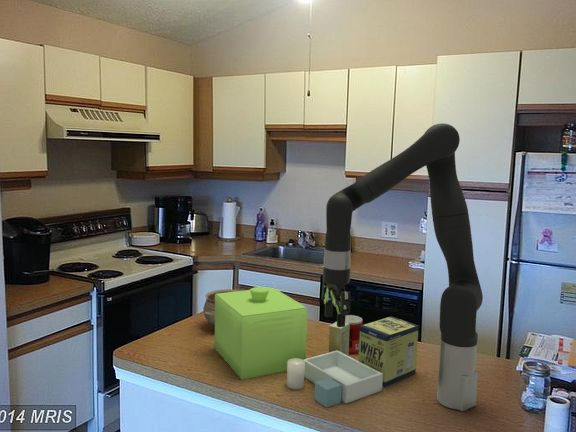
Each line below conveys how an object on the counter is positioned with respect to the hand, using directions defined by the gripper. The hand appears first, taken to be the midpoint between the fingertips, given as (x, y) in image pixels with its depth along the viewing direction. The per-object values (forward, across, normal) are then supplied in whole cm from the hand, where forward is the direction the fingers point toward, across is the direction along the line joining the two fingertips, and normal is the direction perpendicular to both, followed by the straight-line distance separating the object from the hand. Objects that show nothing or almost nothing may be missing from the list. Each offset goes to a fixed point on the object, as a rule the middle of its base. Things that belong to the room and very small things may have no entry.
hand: (334, 321), depth 139 cm
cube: (+19, -8, +5) cm, 21 cm away
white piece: (+19, +3, +10) cm, 22 cm away
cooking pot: (+20, +55, +19) cm, 61 cm away
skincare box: (+19, +16, -9) cm, 27 cm away
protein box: (+19, +2, -20) cm, 28 cm away
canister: (+20, +24, +15) cm, 35 cm away
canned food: (+19, +22, -17) cm, 34 cm away
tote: (+19, +1, -3) cm, 19 cm away
